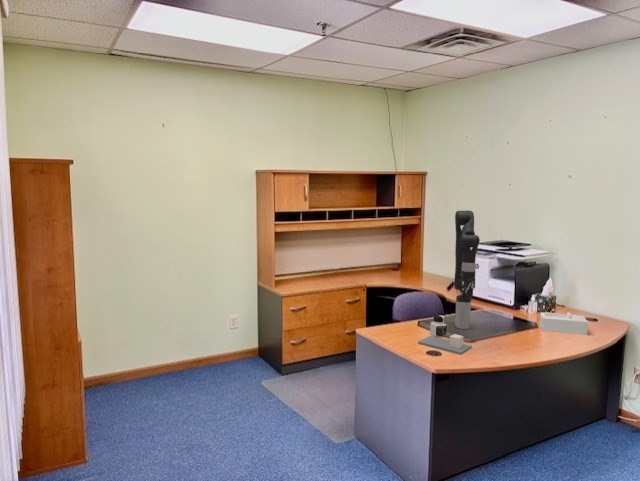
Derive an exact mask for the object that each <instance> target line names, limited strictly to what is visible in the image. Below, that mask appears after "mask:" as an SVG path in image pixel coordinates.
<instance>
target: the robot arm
mask: <svg viewBox="0 0 640 481" xmlns="http://www.w3.org/2000/svg"><path fill="white" fill-rule="evenodd" d="M454 215H455V216H454V222H455V253H454V254H455V255H454V256H455V269H454V282H453V283H454V288H455V290H458V291H460V293H461V294H458V295H457V296H456V298H455V317H454V319H455V322H454V327H455V328H457V329H460V330H461V329H462V330H468V329H470V328H471V313H472V311H471V310H472V297H474V290H475V289H476V267H477V266H476V259H477V258H476V256H477V250H478V249H479V245H480V242H481V240H480V236H478V235H477V234H475V232H476V231H475V229H474V228H475V214H474V212H473V210H456V211H455V214H454ZM461 226H462V227H461Z"/></svg>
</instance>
